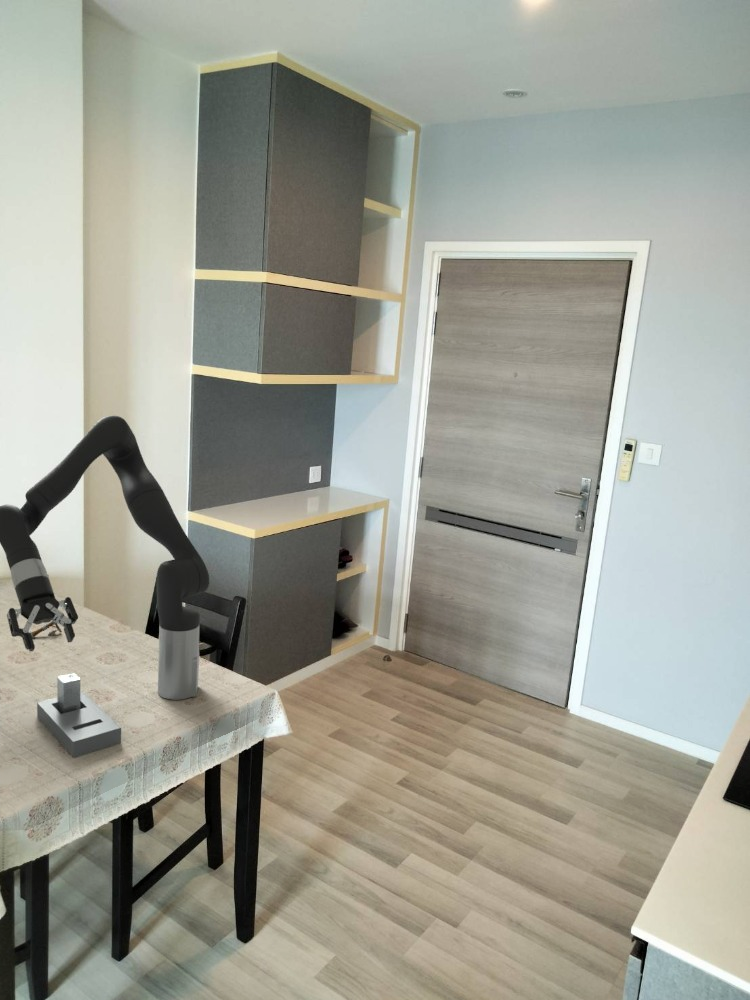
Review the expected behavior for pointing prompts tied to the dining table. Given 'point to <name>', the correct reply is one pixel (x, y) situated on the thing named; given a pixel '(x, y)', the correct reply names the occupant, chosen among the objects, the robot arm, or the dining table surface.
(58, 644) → the dining table surface
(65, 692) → the grey square peg
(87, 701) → the holder
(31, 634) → the brown lamp post
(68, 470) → the robot arm
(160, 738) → the dining table surface
